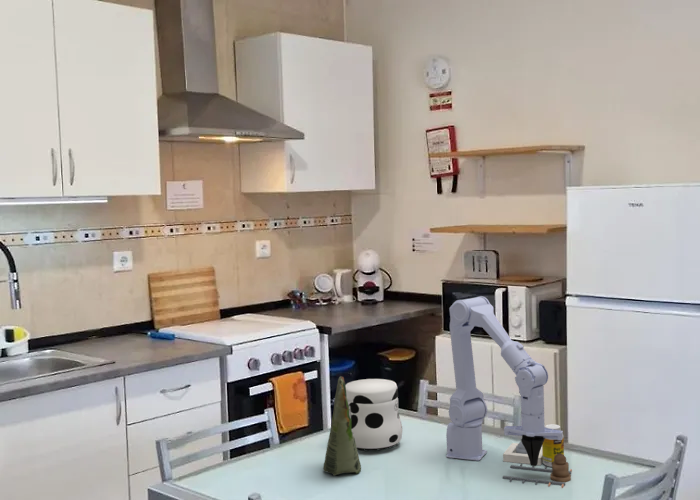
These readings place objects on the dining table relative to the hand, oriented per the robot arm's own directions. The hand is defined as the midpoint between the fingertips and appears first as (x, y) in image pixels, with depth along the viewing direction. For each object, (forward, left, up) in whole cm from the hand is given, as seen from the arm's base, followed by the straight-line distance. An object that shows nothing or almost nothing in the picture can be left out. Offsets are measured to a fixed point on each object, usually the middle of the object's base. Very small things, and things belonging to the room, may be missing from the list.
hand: (534, 464), depth 206 cm
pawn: (+7, 0, -3) cm, 7 cm away
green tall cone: (-48, -12, -3) cm, 50 cm away
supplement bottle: (+3, +10, -3) cm, 11 cm away
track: (+1, 0, -3) cm, 3 cm away
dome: (-5, +13, -3) cm, 14 cm away
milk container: (-49, +10, -3) cm, 50 cm away
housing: (-5, +13, -3) cm, 14 cm away
